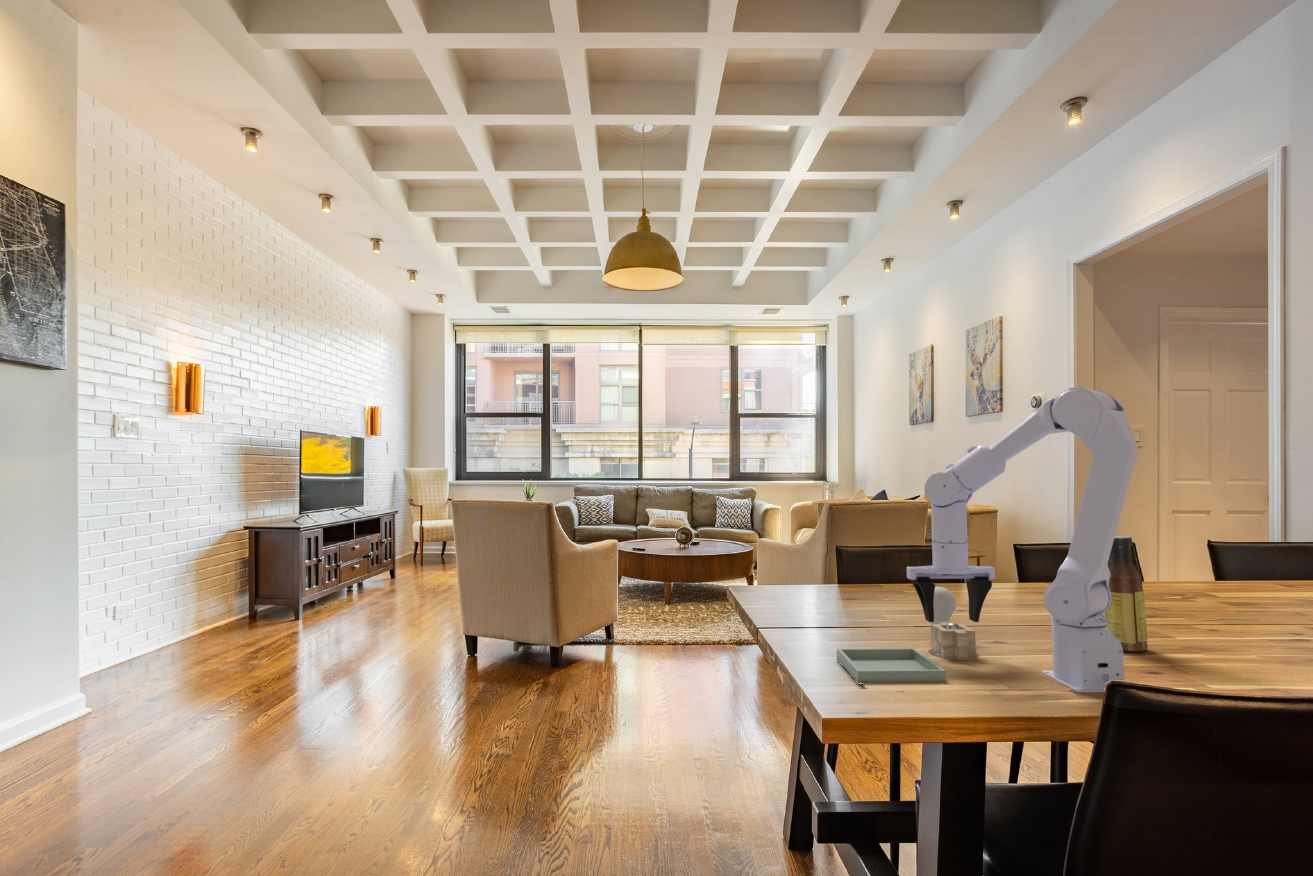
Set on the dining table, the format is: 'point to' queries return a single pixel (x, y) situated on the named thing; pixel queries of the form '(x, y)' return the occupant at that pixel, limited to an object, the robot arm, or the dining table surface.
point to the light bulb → (943, 605)
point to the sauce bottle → (1126, 598)
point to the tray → (889, 665)
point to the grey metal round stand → (950, 626)
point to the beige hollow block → (953, 641)
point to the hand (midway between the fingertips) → (951, 621)
